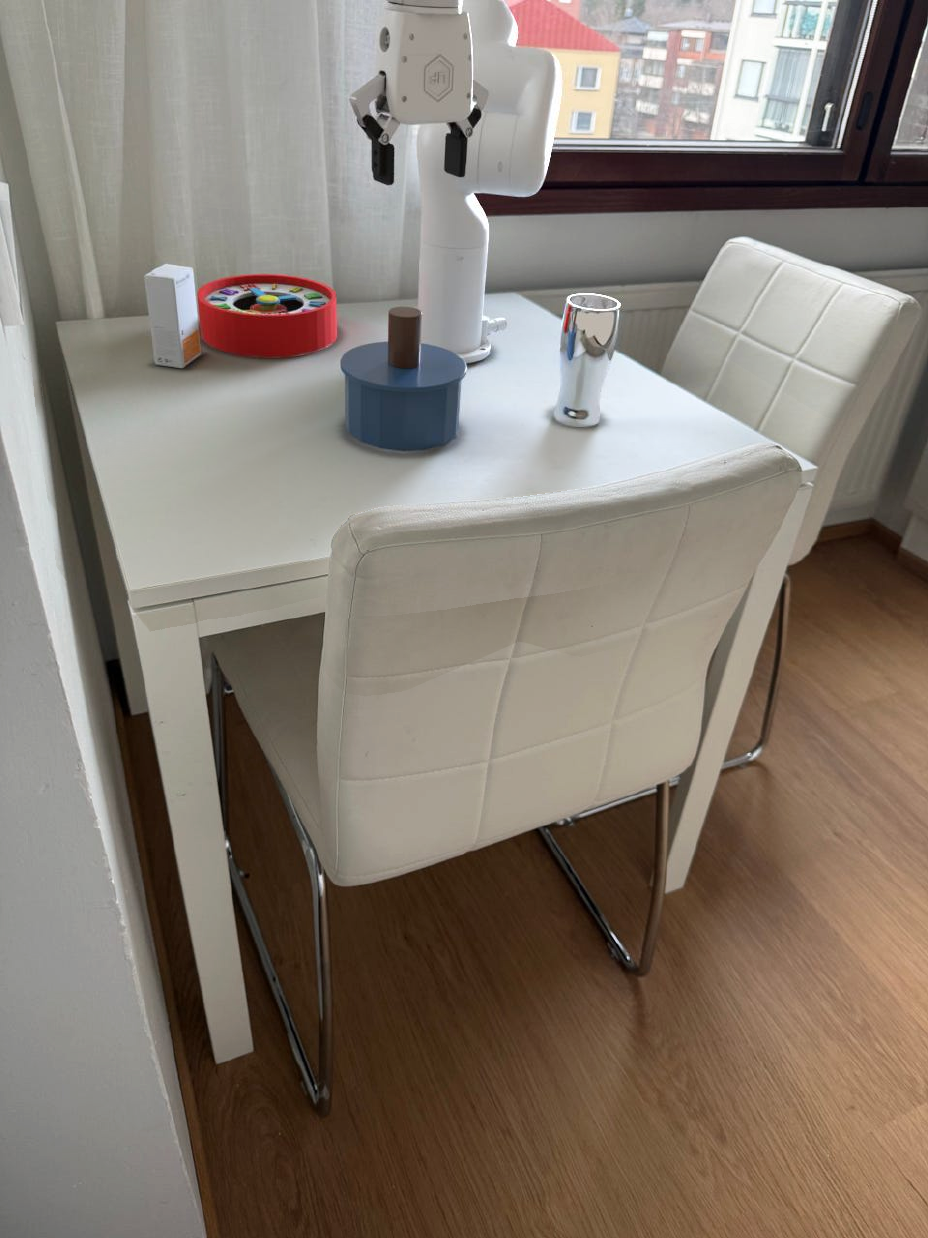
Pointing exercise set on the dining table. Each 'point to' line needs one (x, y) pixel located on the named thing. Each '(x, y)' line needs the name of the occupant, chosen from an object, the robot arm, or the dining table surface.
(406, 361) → the tin lid
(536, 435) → the dining table surface
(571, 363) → the beer glass
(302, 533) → the dining table surface
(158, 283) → the cosmetic box
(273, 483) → the dining table surface
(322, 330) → the toy clock
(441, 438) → the tin
